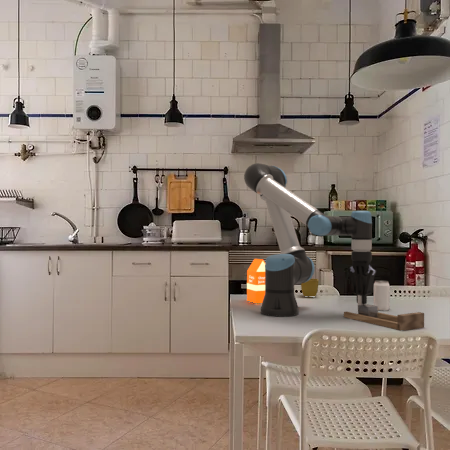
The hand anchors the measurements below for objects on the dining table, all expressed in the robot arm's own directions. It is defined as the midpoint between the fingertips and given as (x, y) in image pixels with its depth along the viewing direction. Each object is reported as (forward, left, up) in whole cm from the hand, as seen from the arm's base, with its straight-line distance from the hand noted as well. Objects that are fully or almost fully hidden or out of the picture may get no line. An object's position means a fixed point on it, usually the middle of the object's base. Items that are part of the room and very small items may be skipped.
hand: (361, 312), depth 174 cm
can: (+21, +9, -2) cm, 23 cm away
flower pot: (+17, +51, -2) cm, 53 cm away
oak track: (0, -9, -2) cm, 10 cm away
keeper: (0, -3, -2) cm, 4 cm away
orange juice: (-15, +49, -2) cm, 51 cm away
